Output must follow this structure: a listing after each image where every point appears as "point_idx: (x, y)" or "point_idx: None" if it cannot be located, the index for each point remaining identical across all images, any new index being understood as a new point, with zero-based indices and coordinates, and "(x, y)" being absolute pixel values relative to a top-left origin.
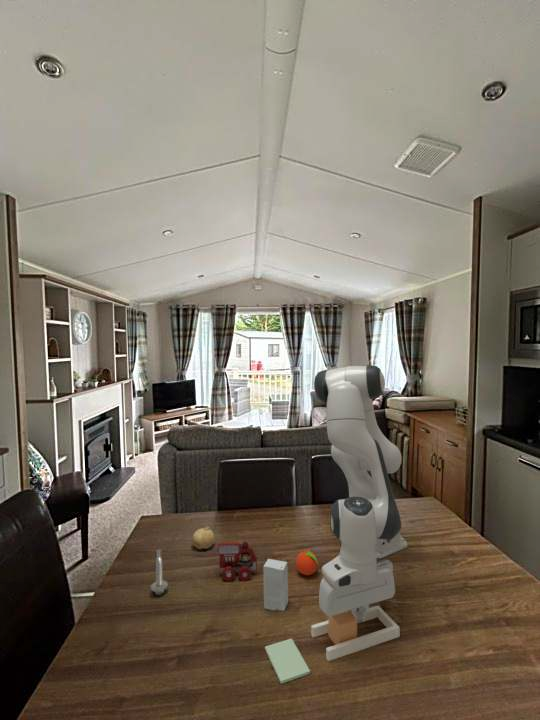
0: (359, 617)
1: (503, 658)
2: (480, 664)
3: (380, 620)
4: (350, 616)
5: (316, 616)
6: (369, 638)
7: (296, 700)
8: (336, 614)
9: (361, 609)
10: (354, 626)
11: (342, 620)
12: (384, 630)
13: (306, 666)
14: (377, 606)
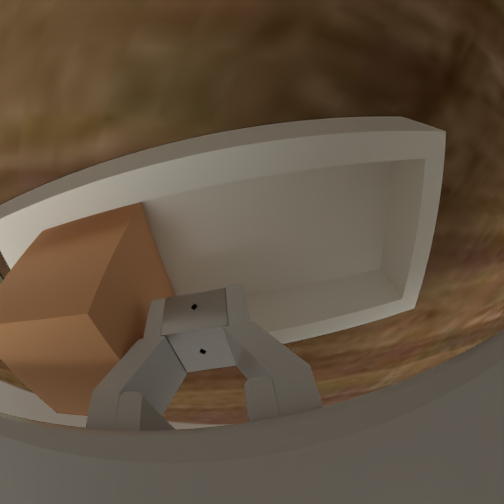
0: (204, 365)
1: (494, 327)
2: (461, 342)
3: (390, 173)
4: None
5: (20, 59)
6: None
7: (14, 375)
8: (25, 362)
9: (247, 361)
10: None
11: (70, 400)
12: (340, 322)
13: None
14: (437, 138)
